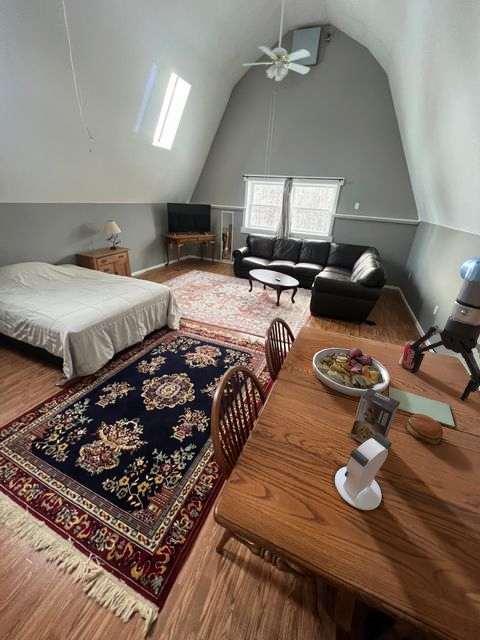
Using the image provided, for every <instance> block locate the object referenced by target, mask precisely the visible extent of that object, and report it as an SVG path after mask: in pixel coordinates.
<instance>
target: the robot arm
mask: <svg viewBox="0 0 480 640" xmlns="http://www.w3.org/2000/svg"><path fill="white" fill-rule="evenodd" d="M459 271H460V272H459V275H460V277H461V278H462V280H463V281H462V283H461V286H460V289H459V291H458V294H457V297H456V299H455V301H454V303H453V306H452V308H451V311H450V312H449V313H450V314H449V315H450V316H448V318H447V320H446V322H445V325H444V329H441V328H439V326H438V325H433V326H431V327H429V329H428V331H427V332H426V333H425V334H424V335H423V336H420V338H419V339H417V340H415V341H416V342H415V343H414V344H412V345H411V346H410V349H412V350H413V351H414V352H415V354H414V357H413V359H412V362H414V366H413V368H411V371H410V373H411V374H413V375H414V374H416V373H418V372H419V370H420V368H421V365H422V363H423V360H424V358H425V355H426V354H425V352H427V351H430V350H433V349H435V348H439V347H441V346H443V347H444V349H446V350H449V351H452V352H453V353H455V354H460V355H461V357H462V359H463V360H464V361H465V362H464V363H465V364H466V366H467V369H468V371H469V372H470V375H471V377H472V378H471V379H469V380H468V382H467V384H466V387H465V389H464V390H463V392H462V395H461V396H460V398H459V400H461V401H462V402H464V401H466V400H467V399H468V398H469V397H470V394H471V393H476V392H477V391H478V390H479V388H480V367H479V365H478V363H477V361H476V359H475V356H474V352H473V350H474V349H476V350H477V353H478V354H480V343H478V339H479V338H480V256H475V257H472V258H468V260H466V261H465V262H464V263H463V264H462V265H461V267H460V270H459ZM437 335H439V337H440V339H441V340H439V341H436V342H433V343H430V344H428V345H426V346H423V347H422V348H419V346H420V345H421V346H422V345H423V344H424V343H425V342H427V341H428V340H429V339H431V338H432V337H433V336H437ZM479 358H480V355H479Z"/></svg>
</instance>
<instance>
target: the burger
mask: <svg viewBox="0 0 480 640" xmlns="http://www.w3.org/2000/svg"><path fill="white" fill-rule="evenodd" d="M406 429H407V431H408V432H409V433H410V434H411V435H412V436H413V437H415V438H417V439H419V440H421V441H423V442H424V443H428V444H431V445H437V444H439V443H440V442H441V440H442V437H443V436H444V429H443V427H442V425H441V423H439V422H437V421H436V420H434V419H433V418H431V417H429V416H427V415H424V414H415V415H414V414H412V415H411V416H410V417H409V418H408V419H407V425H406Z"/></svg>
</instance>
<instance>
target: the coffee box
mask: <svg viewBox="0 0 480 640" xmlns="http://www.w3.org/2000/svg"><path fill="white" fill-rule="evenodd" d="M359 399H360V400H359V404H358V407H357V410H356V414H355V418H354V421H353V423H352V428H351V431H350V434H349V436H350V437H351V438H353V439H355V440H356V441H358V442H359V443H361V444H363V443H364V442H366V441H367V440H369V439H372V438H374V436H375V435H376V434H377V433H379V434H381V435H382V436H383V437H385V438H386V439H387V440H388V436H389V433H390V432H391V429H392V425H393V423H394V420H395V417H396V415H397V412H398V410H399V409H398V407H399V404H400V402H399V401H397V400H395V399H393V398H391V397H389V395H386V394H384V393H382V392H381V393H380V392H378V391H376V390H374V389H372V388H369V389H368V390H367V391H366V392H365V393H364V394H363V395H362V396H361V397H360V398H359Z"/></svg>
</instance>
